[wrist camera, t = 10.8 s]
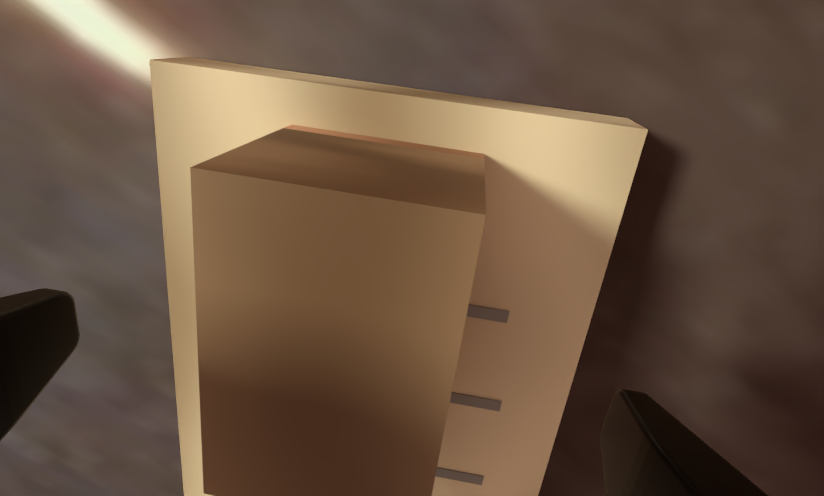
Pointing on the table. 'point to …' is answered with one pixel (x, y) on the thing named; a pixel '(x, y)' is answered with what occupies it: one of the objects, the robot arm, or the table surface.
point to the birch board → (497, 260)
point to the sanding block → (331, 310)
